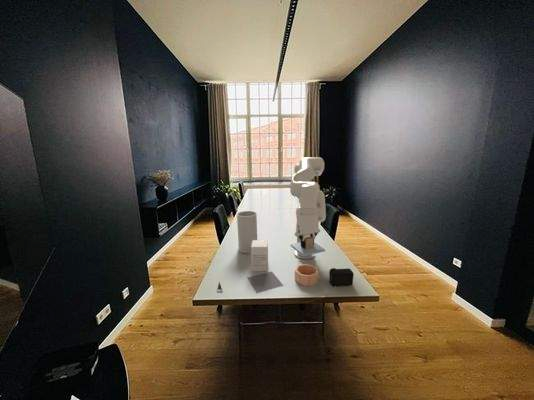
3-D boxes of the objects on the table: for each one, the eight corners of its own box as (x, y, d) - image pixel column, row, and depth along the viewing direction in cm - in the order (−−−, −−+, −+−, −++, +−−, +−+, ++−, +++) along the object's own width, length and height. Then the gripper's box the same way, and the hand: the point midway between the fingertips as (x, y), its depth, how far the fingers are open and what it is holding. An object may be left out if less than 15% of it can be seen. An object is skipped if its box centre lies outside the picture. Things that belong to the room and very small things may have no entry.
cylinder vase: (260, 247, 149) (260, 212, 144) (251, 255, 139) (249, 217, 133) (245, 244, 155) (244, 210, 149) (235, 251, 144) (233, 215, 139)
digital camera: (348, 279, 112) (349, 266, 110) (352, 285, 106) (353, 272, 105) (328, 280, 111) (328, 267, 110) (331, 286, 106) (332, 273, 104)
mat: (247, 278, 114) (247, 277, 114) (271, 272, 119) (271, 271, 119) (256, 294, 101) (256, 293, 101) (283, 286, 107) (283, 285, 106)
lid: (290, 246, 111) (290, 234, 109) (310, 241, 115) (311, 231, 114) (303, 256, 100) (303, 244, 98) (325, 251, 104) (325, 239, 103)
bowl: (291, 277, 114) (291, 267, 113) (309, 272, 118) (309, 262, 117) (302, 289, 104) (303, 278, 103) (322, 283, 109) (322, 272, 107)
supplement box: (253, 263, 129) (252, 239, 125) (268, 263, 128) (268, 239, 125) (251, 272, 120) (250, 246, 116) (268, 272, 119) (267, 246, 116)
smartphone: (216, 292, 103) (220, 274, 118) (217, 293, 103) (220, 275, 118) (232, 290, 104) (233, 273, 118) (232, 292, 104) (233, 274, 118)
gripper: (318, 206, 110) (317, 240, 114) (288, 210, 103) (288, 246, 107) (327, 210, 103) (326, 246, 107) (296, 214, 97) (296, 253, 101)
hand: (307, 246), depth 107 cm, fingers closed on lid, 4 cm apart
